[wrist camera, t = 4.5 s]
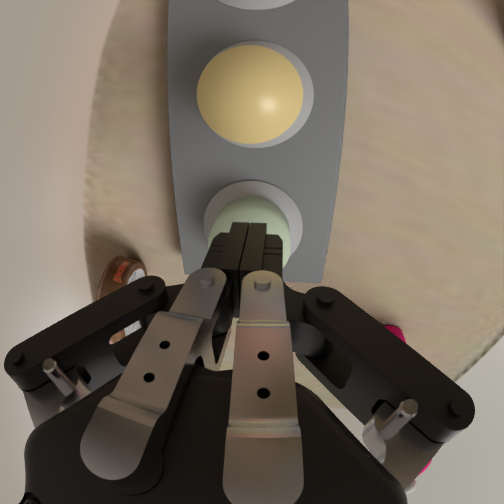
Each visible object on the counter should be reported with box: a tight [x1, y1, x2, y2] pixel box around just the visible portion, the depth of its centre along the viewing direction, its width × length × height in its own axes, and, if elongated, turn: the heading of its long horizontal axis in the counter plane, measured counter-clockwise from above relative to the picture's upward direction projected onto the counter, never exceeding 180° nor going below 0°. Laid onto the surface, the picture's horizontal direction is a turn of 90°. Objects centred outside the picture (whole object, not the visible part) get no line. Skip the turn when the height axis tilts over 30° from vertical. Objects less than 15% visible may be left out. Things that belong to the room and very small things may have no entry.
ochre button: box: [197, 45, 303, 144], centre depth 14 cm, size 6×6×2 cm
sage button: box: [208, 197, 291, 268], centre depth 20 cm, size 6×6×2 cm
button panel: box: [167, 0, 349, 283], centre depth 17 cm, size 12×30×3 cm, turn 179°
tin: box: [96, 256, 147, 344], centre depth 27 cm, size 15×3×8 cm, turn 169°
